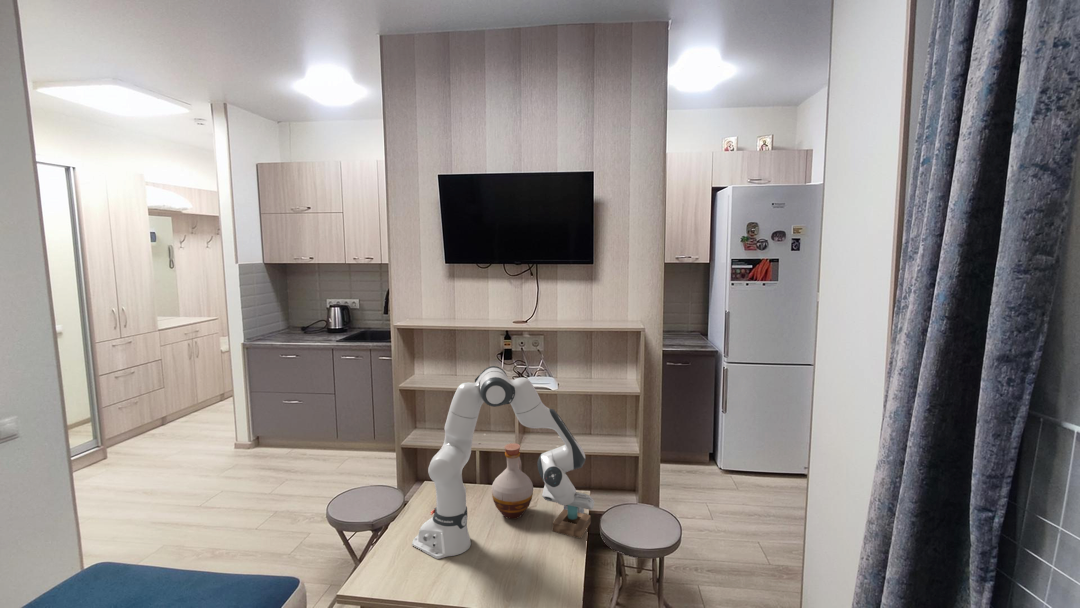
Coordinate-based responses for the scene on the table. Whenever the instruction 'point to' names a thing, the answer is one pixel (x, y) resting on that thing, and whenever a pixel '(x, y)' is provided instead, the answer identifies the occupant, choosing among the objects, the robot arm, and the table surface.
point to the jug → (512, 486)
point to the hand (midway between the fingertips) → (573, 505)
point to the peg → (572, 512)
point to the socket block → (571, 524)
